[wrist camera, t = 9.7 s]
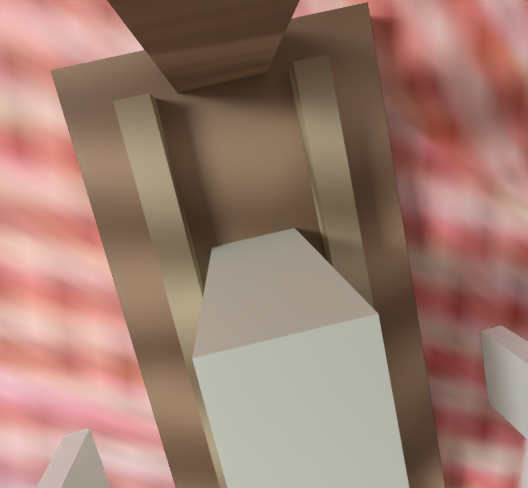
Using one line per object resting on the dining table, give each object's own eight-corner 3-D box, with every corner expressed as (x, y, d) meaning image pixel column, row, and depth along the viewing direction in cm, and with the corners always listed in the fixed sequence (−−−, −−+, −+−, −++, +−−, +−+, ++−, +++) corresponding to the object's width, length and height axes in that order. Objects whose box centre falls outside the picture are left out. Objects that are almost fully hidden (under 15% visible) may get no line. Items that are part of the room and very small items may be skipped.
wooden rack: (63, 76, 21) (-405, -159, 5) (357, 13, 21) (696, -367, 6) (209, 571, 26) (183, 1146, 11) (439, 511, 27) (722, 982, 11)
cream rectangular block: (212, 247, 21) (191, 358, 9) (300, 226, 21) (392, 310, 9) (258, 432, 23) (290, 719, 11) (339, 412, 23) (454, 673, 11)
